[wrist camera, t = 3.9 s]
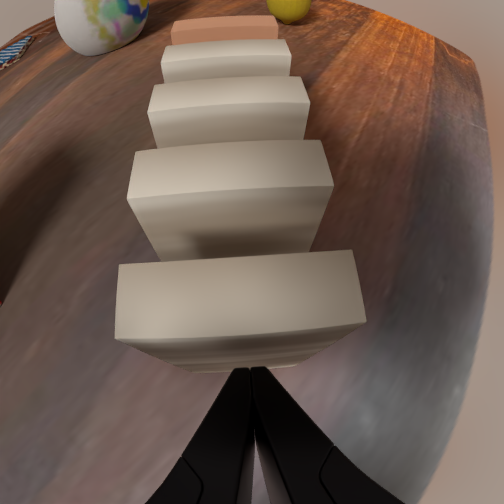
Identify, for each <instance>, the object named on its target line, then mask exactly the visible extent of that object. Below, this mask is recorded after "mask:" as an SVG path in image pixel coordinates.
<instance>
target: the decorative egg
mask: <svg viewBox="0 0 504 504" xmlns="http://www.w3.org/2000/svg"><path fill="white" fill-rule="evenodd" d="M148 10H149V0H55V3H54V12H55V13H54V14H55V21H56V25H57V28H58V31H59V33H60V35H61V37H62V38H63V40H64V41H65V43H66V44H67V45H68V46H69V47H70V48H72V49H73V50H75V51H76V52H78V53H80V54H82V55H85V56H95V55H101V54H104V53H108V52H111V51H113V50H116V49H118V48H121V47H123V46H124V45H126V44H128V43H130V42H131V41H133V40H134V39H135V38H136V37H137V36H138V35H139V34H140V32H141V30H142V29H143V27H144V24H145V22H146V19H147V16H148Z"/></svg>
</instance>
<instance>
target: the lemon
mask: <svg viewBox="0 0 504 504" xmlns="http://www.w3.org/2000/svg"><path fill="white" fill-rule="evenodd" d="M310 5H311V0H267V6H268V9H269V11H270V12H271V14H272V15H273V16H274V17H276V18H277V19H280V20H282V22H283V23H284V24H290V23H291V22H293V21H297V20H300V19H301V18H303V17H304V16H305V15H306V14H307V13H308V11H309V8H310Z"/></svg>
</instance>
